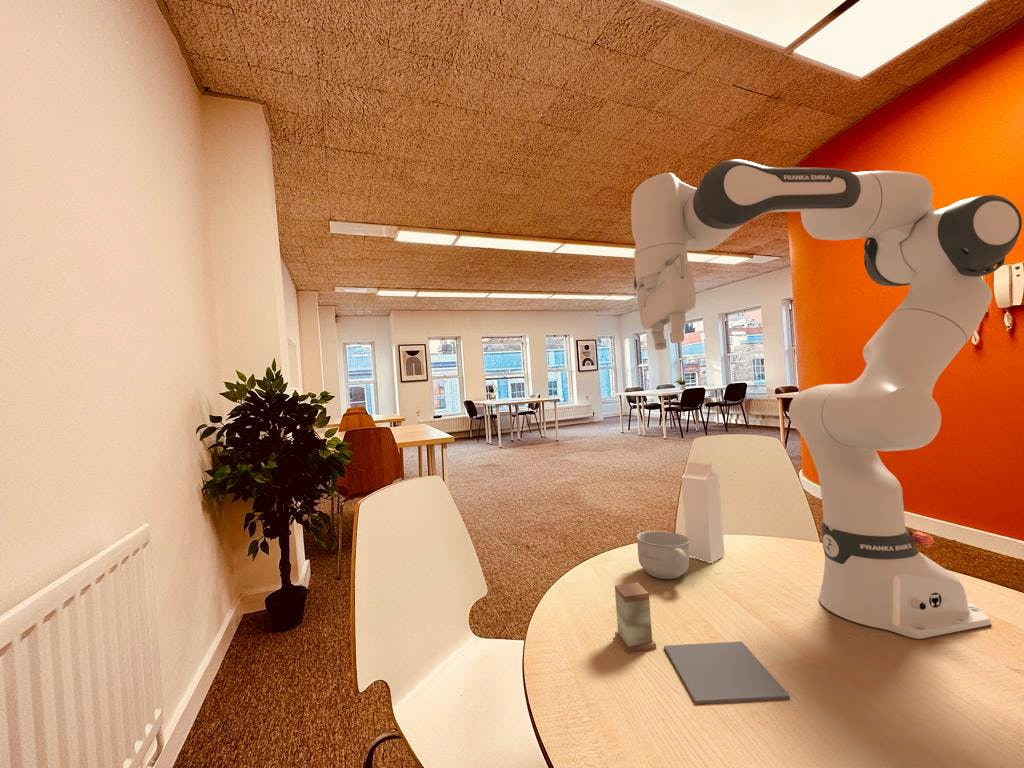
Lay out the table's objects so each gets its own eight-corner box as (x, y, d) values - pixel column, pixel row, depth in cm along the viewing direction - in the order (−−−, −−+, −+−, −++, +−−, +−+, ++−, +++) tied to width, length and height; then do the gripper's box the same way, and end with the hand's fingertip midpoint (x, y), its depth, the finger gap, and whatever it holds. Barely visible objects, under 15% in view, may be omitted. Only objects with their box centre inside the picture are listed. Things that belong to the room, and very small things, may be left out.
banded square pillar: (642, 632, 72) (638, 581, 72) (656, 648, 67) (652, 593, 68) (615, 636, 71) (611, 584, 72) (627, 653, 67) (623, 598, 67)
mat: (741, 644, 67) (741, 641, 67) (790, 698, 55) (789, 695, 55) (664, 648, 67) (664, 645, 67) (695, 703, 55) (695, 700, 55)
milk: (711, 564, 97) (704, 466, 97) (686, 557, 102) (679, 463, 102) (725, 556, 100) (718, 462, 101) (700, 550, 105) (693, 459, 106)
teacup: (634, 564, 99) (631, 529, 99) (681, 562, 99) (679, 527, 99) (651, 593, 85) (648, 552, 86) (706, 590, 85) (703, 549, 85)
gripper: (702, 246, 66) (710, 335, 65) (662, 282, 87) (669, 351, 86) (660, 250, 66) (668, 339, 66) (631, 285, 87) (637, 354, 86)
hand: (668, 346), depth 76 cm, fingers open, 8 cm apart
